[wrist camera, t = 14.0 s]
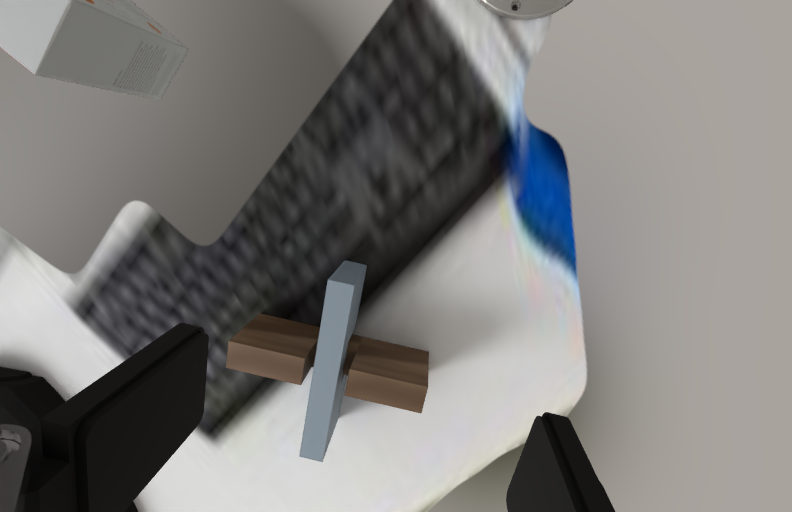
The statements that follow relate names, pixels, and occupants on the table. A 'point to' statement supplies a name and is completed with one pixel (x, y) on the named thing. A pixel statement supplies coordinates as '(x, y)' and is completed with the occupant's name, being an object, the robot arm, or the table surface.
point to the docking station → (28, 401)
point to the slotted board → (365, 364)
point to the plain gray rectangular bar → (331, 357)
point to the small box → (91, 44)
